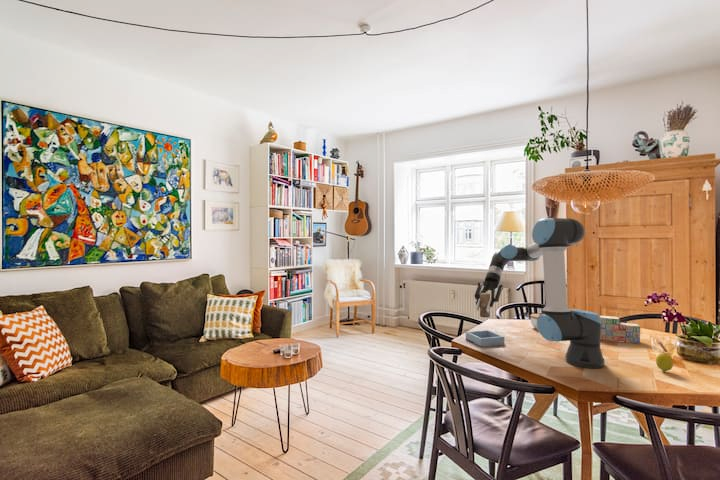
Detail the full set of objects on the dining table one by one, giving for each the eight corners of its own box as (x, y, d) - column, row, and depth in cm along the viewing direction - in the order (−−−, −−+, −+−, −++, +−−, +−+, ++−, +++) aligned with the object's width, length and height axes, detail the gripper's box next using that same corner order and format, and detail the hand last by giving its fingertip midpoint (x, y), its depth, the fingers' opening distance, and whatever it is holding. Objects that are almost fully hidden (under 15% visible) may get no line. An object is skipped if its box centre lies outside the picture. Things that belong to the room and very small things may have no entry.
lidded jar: (526, 327, 233) (526, 312, 233) (538, 325, 238) (538, 310, 238) (542, 331, 223) (542, 315, 223) (553, 329, 228) (554, 313, 228)
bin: (504, 344, 198) (504, 336, 198) (480, 346, 194) (480, 338, 194) (487, 337, 211) (488, 329, 211) (465, 339, 207) (465, 331, 207)
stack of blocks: (636, 341, 205) (637, 318, 205) (639, 344, 200) (640, 320, 199) (590, 336, 214) (591, 314, 214) (592, 339, 208) (592, 316, 208)
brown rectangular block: (491, 317, 201) (492, 294, 200) (483, 317, 199) (483, 294, 199) (485, 315, 205) (486, 292, 205) (477, 315, 204) (478, 293, 204)
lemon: (654, 371, 160) (655, 352, 160) (657, 368, 164) (657, 349, 164) (671, 375, 156) (672, 355, 156) (673, 371, 160) (674, 352, 160)
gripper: (511, 281, 208) (501, 317, 196) (479, 278, 219) (467, 312, 207) (508, 272, 204) (497, 308, 191) (476, 270, 215) (463, 304, 203)
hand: (482, 310), depth 199 cm, fingers closed on brown rectangular block, 5 cm apart
